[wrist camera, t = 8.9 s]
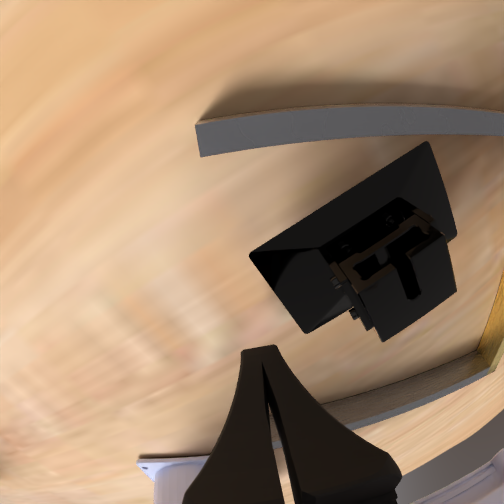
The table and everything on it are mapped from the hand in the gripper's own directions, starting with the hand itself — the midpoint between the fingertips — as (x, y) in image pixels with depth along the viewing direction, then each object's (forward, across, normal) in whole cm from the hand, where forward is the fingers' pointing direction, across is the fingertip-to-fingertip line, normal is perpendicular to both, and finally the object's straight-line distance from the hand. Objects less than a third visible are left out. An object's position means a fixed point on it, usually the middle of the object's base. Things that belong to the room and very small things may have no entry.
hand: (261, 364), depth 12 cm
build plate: (+3, -6, -3) cm, 7 cm away
